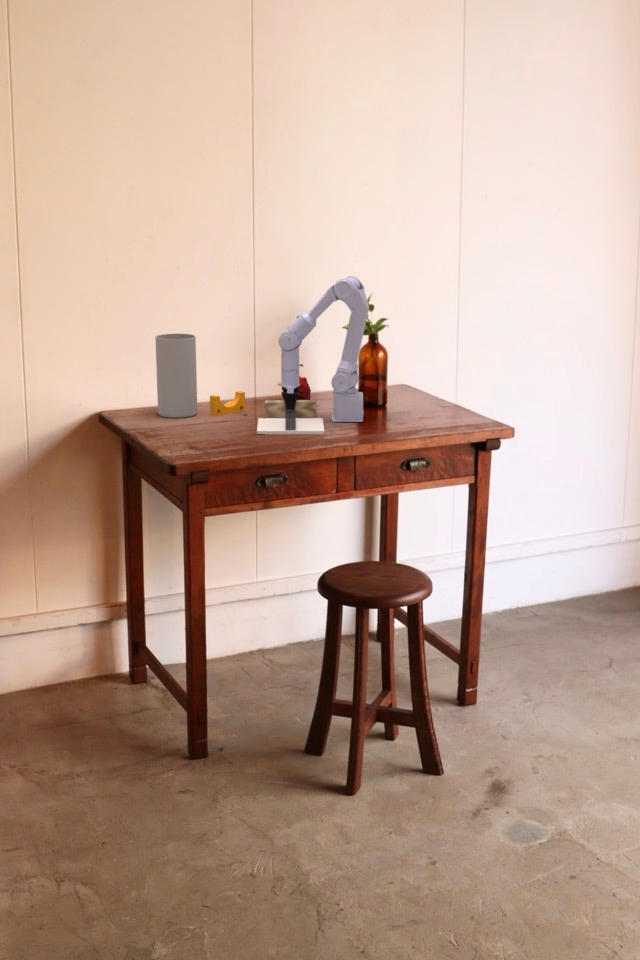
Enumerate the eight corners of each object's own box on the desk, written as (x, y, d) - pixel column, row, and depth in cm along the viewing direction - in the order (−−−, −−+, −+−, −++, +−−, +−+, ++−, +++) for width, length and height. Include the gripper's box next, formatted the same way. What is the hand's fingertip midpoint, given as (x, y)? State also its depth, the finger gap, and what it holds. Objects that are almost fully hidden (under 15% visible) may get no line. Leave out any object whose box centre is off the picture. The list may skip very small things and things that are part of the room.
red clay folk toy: (313, 401, 390) (313, 357, 386) (305, 405, 383) (305, 360, 380) (293, 400, 393) (292, 356, 389) (284, 403, 386) (284, 359, 382)
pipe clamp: (237, 409, 378) (237, 390, 376) (245, 411, 375) (245, 392, 373) (207, 414, 370) (206, 394, 369) (215, 416, 367) (214, 396, 365)
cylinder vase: (197, 409, 376) (195, 333, 370) (197, 418, 364) (195, 339, 358) (158, 410, 375) (155, 333, 368) (157, 418, 363) (155, 339, 356)
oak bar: (315, 415, 370) (315, 400, 369) (315, 417, 367) (315, 402, 365) (265, 415, 369) (265, 400, 368) (265, 418, 366) (265, 402, 364)
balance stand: (322, 421, 360) (322, 408, 359) (324, 434, 343) (324, 421, 342) (258, 421, 360) (258, 408, 359) (256, 434, 342) (256, 421, 341)
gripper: (277, 365, 371) (278, 406, 374) (277, 373, 357) (277, 416, 360) (299, 365, 371) (299, 406, 374) (300, 373, 357) (300, 416, 360)
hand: (290, 411), depth 367 cm, fingers open, 7 cm apart
